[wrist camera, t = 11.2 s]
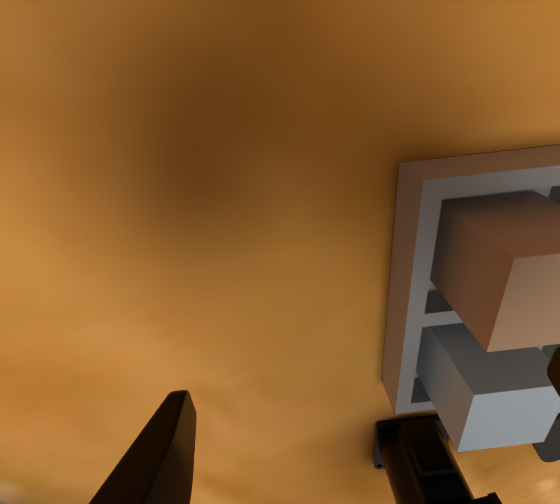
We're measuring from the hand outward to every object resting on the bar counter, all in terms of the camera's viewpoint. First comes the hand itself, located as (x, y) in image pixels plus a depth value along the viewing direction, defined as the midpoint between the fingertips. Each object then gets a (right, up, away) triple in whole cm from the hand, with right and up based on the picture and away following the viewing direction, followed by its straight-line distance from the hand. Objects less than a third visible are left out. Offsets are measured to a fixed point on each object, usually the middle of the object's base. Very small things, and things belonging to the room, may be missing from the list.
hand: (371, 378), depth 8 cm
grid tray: (+13, +2, +14) cm, 19 cm away
